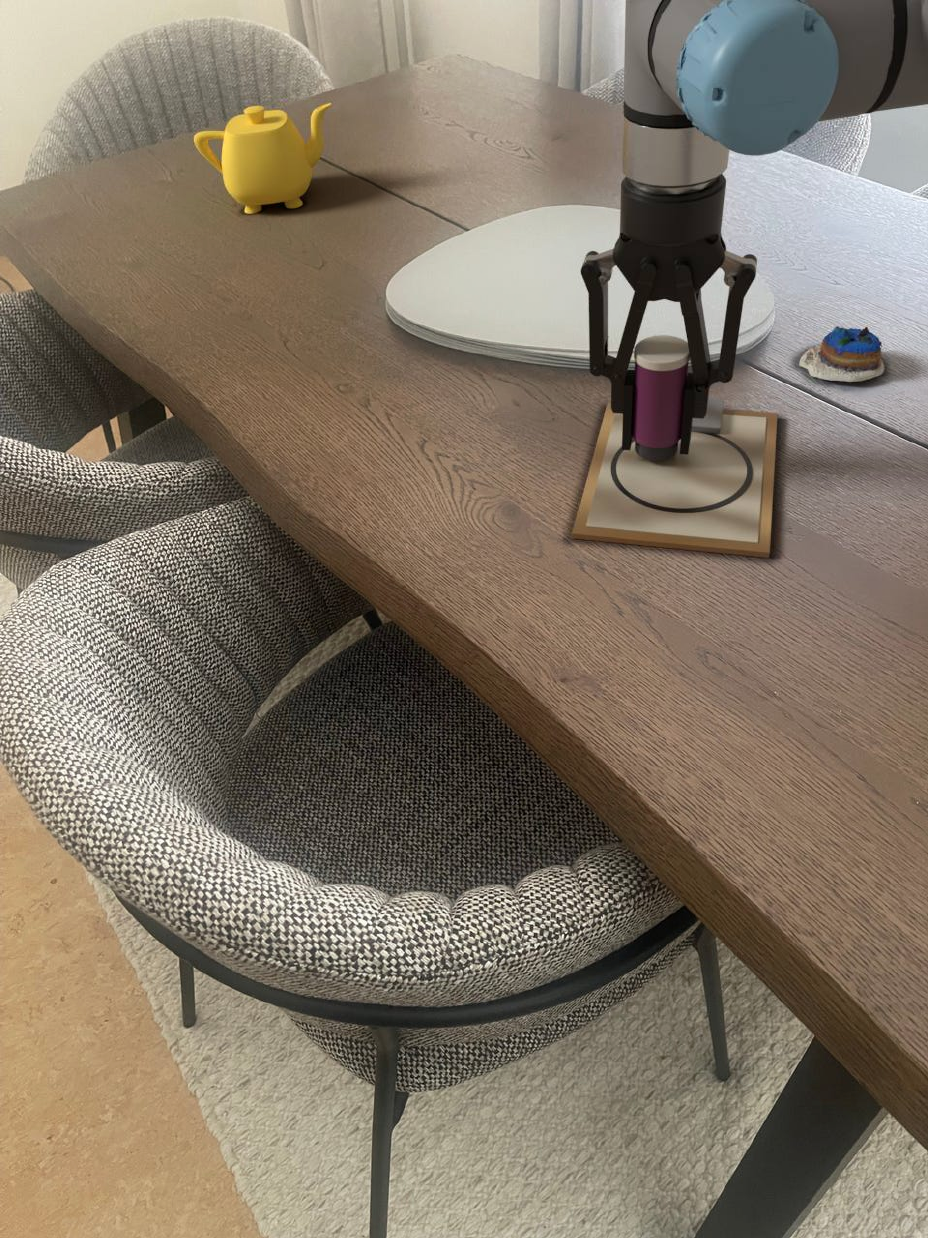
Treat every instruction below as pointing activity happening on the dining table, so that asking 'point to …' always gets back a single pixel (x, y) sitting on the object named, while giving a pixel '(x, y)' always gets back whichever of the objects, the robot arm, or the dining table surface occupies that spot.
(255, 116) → the teapot
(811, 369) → the dessert
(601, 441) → the sketch board
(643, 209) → the robot arm
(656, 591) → the dining table surface
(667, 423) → the cylinder
